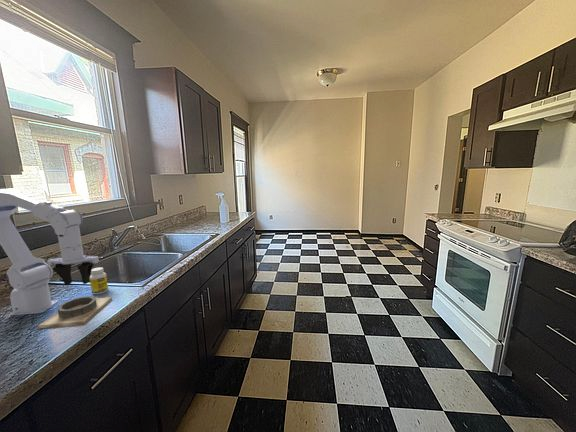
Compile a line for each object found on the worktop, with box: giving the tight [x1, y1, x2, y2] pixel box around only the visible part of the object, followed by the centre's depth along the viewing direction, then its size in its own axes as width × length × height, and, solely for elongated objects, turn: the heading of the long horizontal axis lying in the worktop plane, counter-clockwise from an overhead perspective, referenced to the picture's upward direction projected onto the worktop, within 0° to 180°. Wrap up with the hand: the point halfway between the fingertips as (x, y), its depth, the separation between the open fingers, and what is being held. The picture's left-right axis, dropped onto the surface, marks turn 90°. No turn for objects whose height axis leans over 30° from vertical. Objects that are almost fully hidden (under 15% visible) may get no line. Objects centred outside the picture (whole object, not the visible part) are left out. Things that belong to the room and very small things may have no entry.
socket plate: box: [37, 295, 113, 329], centre depth 85 cm, size 13×16×4 cm
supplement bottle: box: [89, 267, 109, 295], centre depth 100 cm, size 5×5×10 cm
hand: (77, 283), depth 86 cm, fingers open, 5 cm apart
